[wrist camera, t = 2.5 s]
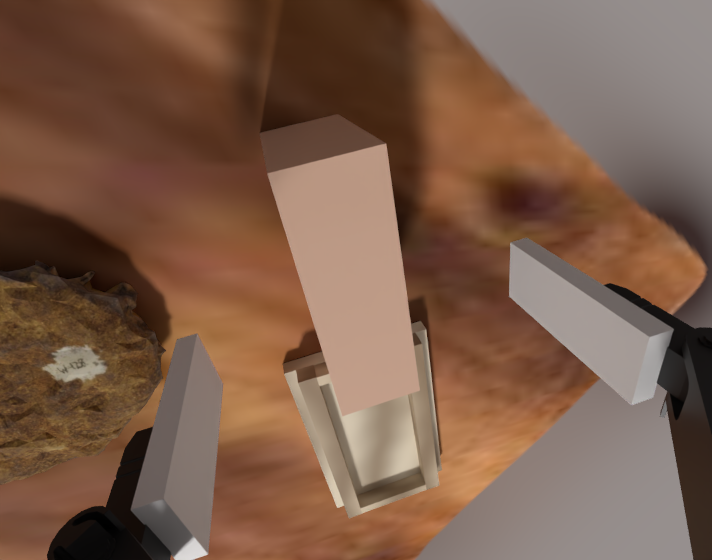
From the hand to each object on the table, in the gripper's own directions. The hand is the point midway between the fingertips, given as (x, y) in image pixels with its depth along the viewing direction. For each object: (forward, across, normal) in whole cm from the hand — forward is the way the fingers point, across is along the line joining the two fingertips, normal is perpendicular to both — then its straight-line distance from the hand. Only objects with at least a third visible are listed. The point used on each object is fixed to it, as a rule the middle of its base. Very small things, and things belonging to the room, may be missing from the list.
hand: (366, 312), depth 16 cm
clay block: (+8, 0, +1) cm, 8 cm away
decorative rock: (+8, -18, -3) cm, 20 cm away
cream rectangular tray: (+8, 0, -16) cm, 18 cm away
